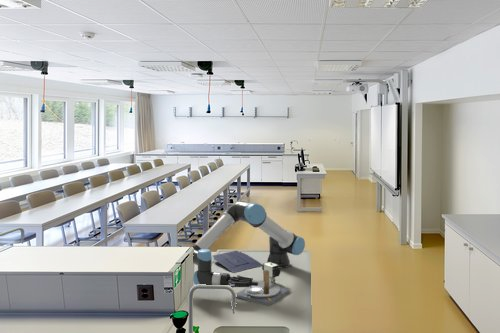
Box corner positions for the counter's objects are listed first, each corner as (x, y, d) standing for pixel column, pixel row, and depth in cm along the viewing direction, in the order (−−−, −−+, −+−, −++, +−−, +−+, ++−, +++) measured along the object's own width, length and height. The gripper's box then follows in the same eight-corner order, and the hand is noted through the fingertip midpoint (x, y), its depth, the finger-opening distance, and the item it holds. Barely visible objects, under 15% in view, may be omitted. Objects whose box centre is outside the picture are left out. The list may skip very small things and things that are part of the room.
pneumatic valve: (274, 286, 251) (274, 265, 250) (262, 280, 260) (261, 261, 259) (282, 283, 255) (281, 263, 254) (269, 278, 264) (268, 259, 263)
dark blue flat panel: (238, 253, 313) (238, 248, 313) (263, 269, 289) (264, 264, 289) (209, 260, 299) (209, 255, 299) (233, 276, 275) (233, 271, 275)
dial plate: (256, 284, 254) (256, 281, 254) (289, 291, 242) (289, 288, 242) (234, 297, 236) (234, 293, 236) (269, 305, 224) (269, 302, 224)
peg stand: (241, 287, 246) (240, 263, 244) (273, 283, 250) (273, 260, 249) (249, 300, 227) (249, 273, 226) (284, 296, 232) (284, 270, 231)
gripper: (225, 282, 241) (267, 286, 235) (217, 291, 229) (261, 295, 223) (225, 269, 241) (267, 273, 234) (217, 277, 228) (261, 281, 222)
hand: (264, 283), depth 229 cm, fingers closed
